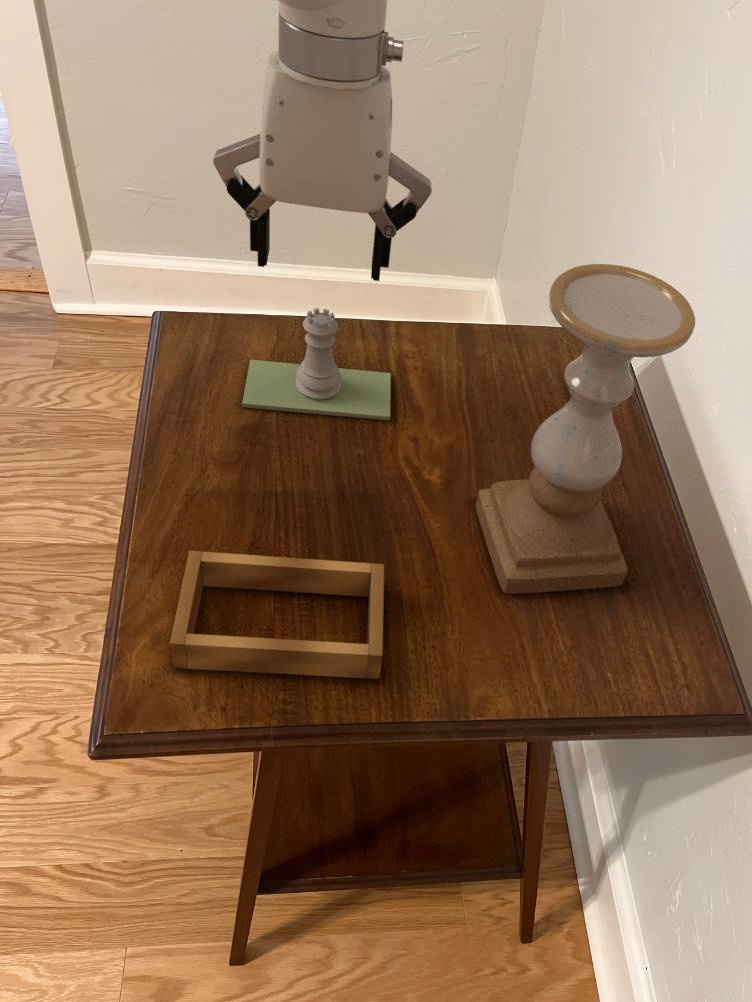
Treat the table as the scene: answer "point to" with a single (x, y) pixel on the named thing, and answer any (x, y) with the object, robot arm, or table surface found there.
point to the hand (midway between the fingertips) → (320, 265)
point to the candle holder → (581, 435)
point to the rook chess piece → (319, 358)
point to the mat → (355, 398)
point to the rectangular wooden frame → (278, 652)
